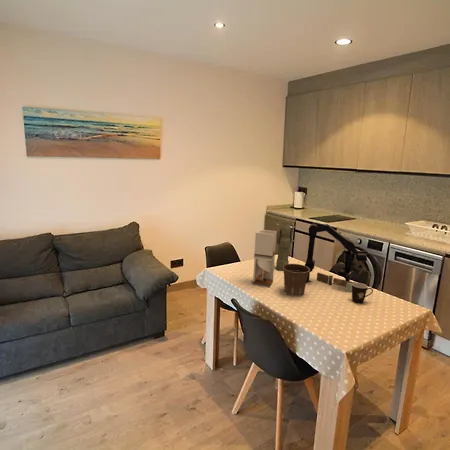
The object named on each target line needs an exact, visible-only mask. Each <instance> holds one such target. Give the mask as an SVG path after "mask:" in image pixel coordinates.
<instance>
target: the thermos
mask: <svg viewBox="0 0 450 450" xmlns="http://www.w3.org/2000/svg"><path fill="white" fill-rule="evenodd" d="M276 231H277V233H276V244H277V259H276V262H275V263H276V264H275V265H276V267H275V268H276V271H280V272H284V269H283V266H284V265H286V264H290V263H289V262H290V261H289V253H290V247H291V244H292V241H293V231H292V229H291V224H290V223H288V222H283V223H281V225H280V226H279V229H278V230H276Z"/></svg>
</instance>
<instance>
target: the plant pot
mask: <svg viewBox="0 0 450 450" xmlns="http://www.w3.org/2000/svg"><path fill="white" fill-rule="evenodd" d="M304 265H305V264H298V263H289V264H286V265H284V266H283V269H284V271H283V275H284V276H283V282H284V283H283V284H284V285H283V286H284V287H283V289H284V293H286V295H288V296H292V297H299V296H304V295H305V292H306V291H305V290H306V284H307V283H306V281H307V277H308V273H309V271H310V269H309V268H308V267H306V266H304Z"/></svg>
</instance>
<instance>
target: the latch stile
mask: <svg viewBox="0 0 450 450" xmlns="http://www.w3.org/2000/svg"><path fill="white" fill-rule="evenodd" d="M345 292H347V293H350V292H351V293H352V284H351V283H347V285H346V287H345Z"/></svg>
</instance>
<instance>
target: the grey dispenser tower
mask: <svg viewBox="0 0 450 450" xmlns="http://www.w3.org/2000/svg"><path fill="white" fill-rule="evenodd" d="M277 231H278V230H268V229H258V230H257V231H256V232H255V234H254V235H255V236H254V237H255V239H254V251H253V253H254V254H253V260H254V261H253V263H254V264H253V274H252V275H253V278H252V286H257V287H263V288H271V286H272V285H273V283H274V273H275V270H274V269H275V260H276V259H275V257H276V244H277Z"/></svg>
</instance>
